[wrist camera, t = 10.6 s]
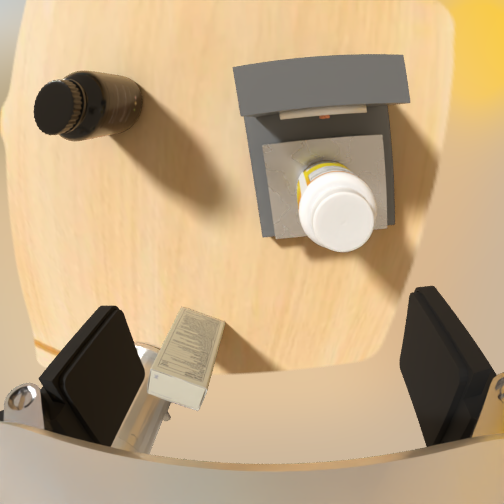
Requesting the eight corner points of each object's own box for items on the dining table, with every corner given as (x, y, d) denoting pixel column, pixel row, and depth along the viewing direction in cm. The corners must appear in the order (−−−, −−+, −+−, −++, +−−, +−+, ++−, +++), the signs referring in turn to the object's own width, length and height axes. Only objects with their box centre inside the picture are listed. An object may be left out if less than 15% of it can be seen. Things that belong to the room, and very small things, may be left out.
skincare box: (175, 329, 42) (143, 392, 31) (182, 304, 41) (148, 367, 30) (219, 345, 43) (198, 413, 32) (228, 320, 41) (207, 389, 30)
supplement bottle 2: (331, 229, 30) (348, 280, 21) (284, 194, 29) (281, 232, 20) (367, 183, 28) (403, 215, 19) (320, 146, 27) (336, 160, 18)
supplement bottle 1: (93, 134, 33) (24, 148, 22) (95, 79, 30) (26, 74, 19) (143, 133, 33) (81, 145, 22) (147, 74, 30) (85, 61, 19)
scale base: (389, 218, 33) (425, 260, 23) (264, 230, 36) (253, 277, 26) (376, 71, 27) (415, 53, 17) (241, 83, 30) (218, 67, 19)
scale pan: (382, 221, 31) (387, 228, 29) (276, 232, 33) (275, 239, 31) (376, 133, 28) (382, 134, 26) (263, 143, 30) (262, 145, 28)
